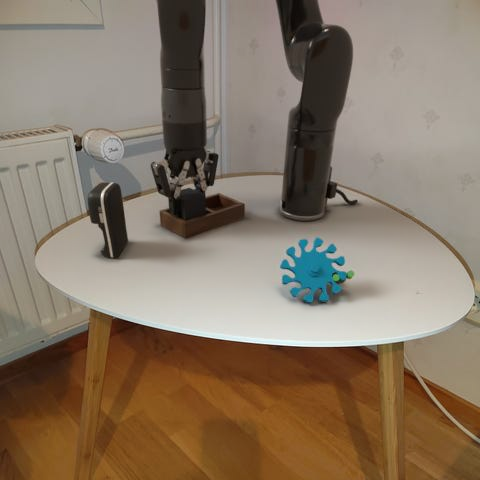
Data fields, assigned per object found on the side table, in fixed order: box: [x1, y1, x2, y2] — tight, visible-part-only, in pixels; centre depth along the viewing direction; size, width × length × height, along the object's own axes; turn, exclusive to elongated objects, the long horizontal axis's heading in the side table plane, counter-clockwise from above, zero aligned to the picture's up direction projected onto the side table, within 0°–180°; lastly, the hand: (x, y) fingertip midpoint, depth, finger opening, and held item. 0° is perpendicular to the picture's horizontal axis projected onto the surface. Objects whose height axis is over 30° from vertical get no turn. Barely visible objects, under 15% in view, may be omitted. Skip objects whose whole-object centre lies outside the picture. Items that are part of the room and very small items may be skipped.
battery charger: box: [87, 181, 129, 259], centre depth 71 cm, size 7×4×11 cm, turn 175°
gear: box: [279, 237, 355, 304], centre depth 64 cm, size 11×6×10 cm
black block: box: [179, 187, 207, 221], centre depth 80 cm, size 5×5×4 cm
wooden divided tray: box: [159, 192, 246, 240], centre depth 84 cm, size 8×15×3 cm, turn 133°
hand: (187, 211), depth 81 cm, fingers closed on black block, 5 cm apart
